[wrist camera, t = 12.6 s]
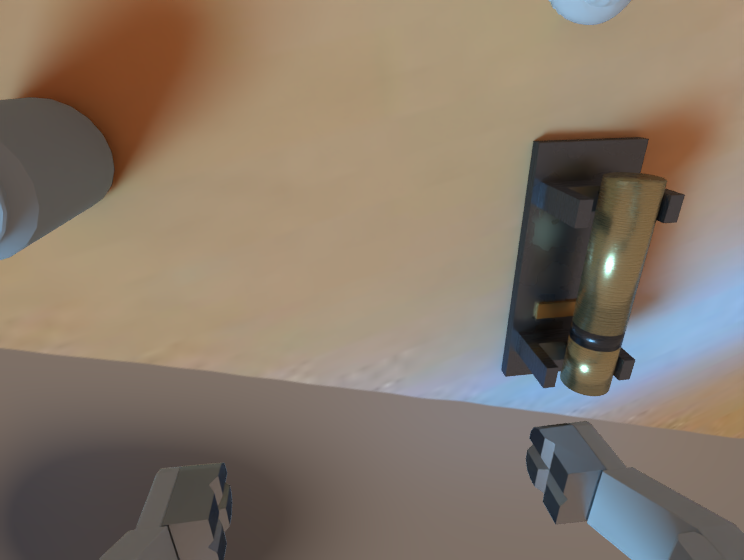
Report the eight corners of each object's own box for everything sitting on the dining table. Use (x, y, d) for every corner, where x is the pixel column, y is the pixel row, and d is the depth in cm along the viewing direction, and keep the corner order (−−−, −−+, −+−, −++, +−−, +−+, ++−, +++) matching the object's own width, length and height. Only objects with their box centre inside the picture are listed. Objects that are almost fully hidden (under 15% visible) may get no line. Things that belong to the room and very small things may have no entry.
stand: (533, 140, 34) (580, 155, 28) (640, 137, 35) (706, 150, 29) (501, 370, 43) (531, 416, 38) (585, 362, 44) (627, 405, 39)
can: (97, 91, 29) (-28, 102, 18) (133, 202, 32) (45, 267, 21) (-24, 102, 28) (-229, 119, 17) (26, 213, 31) (-121, 287, 21)
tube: (591, 177, 31) (649, 187, 28) (620, 169, 33) (677, 179, 30) (550, 377, 39) (593, 402, 36) (576, 362, 41) (618, 384, 38)
